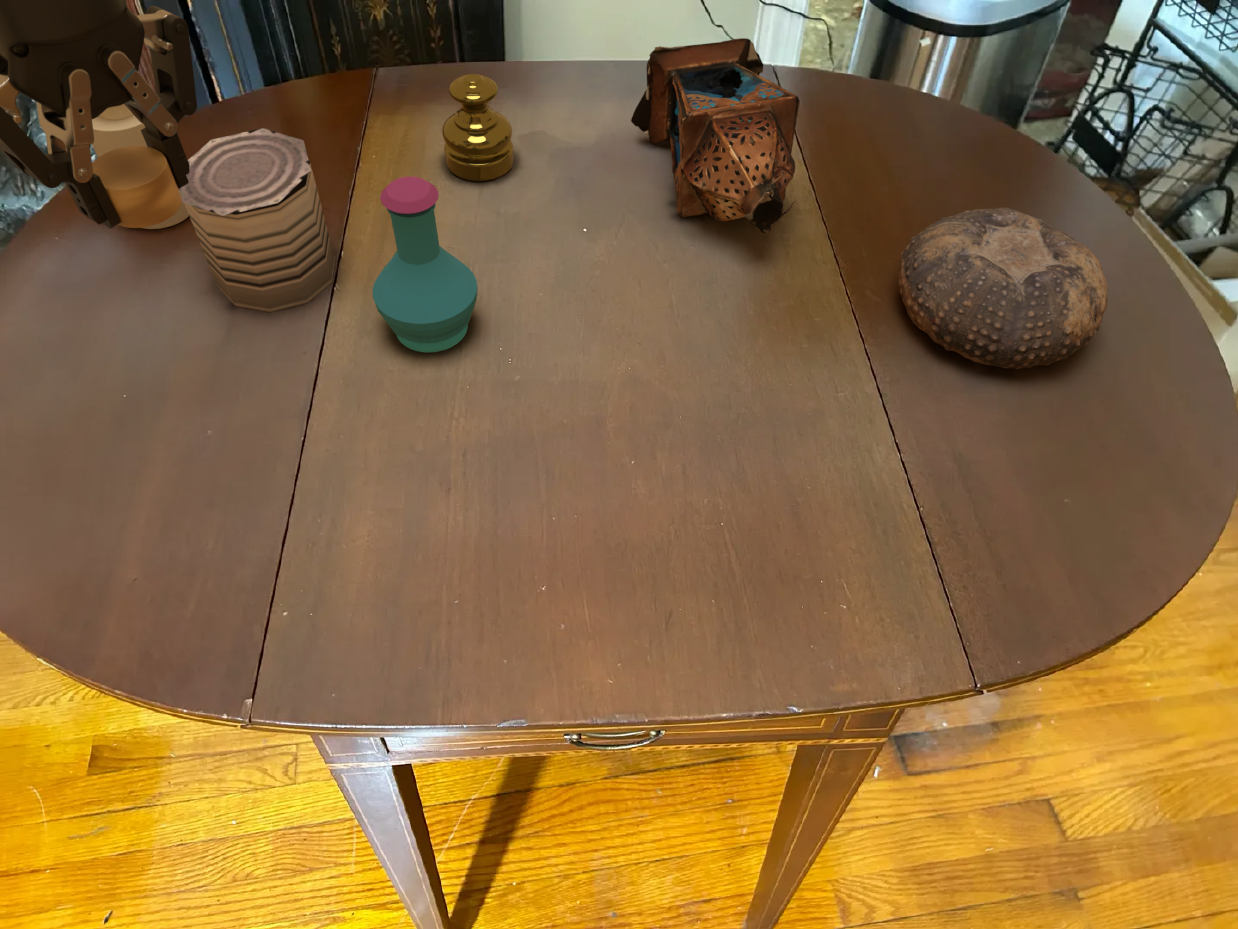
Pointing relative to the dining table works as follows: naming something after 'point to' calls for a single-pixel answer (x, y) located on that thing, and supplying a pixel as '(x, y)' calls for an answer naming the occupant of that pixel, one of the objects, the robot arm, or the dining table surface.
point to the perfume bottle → (422, 274)
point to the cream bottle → (125, 144)
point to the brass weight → (477, 132)
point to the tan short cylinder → (138, 185)
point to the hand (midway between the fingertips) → (141, 200)
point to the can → (260, 219)
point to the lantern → (721, 130)
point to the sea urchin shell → (1002, 288)
